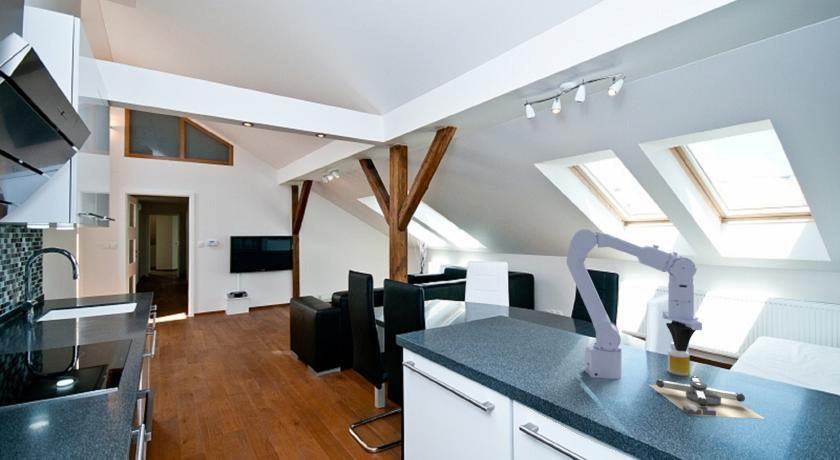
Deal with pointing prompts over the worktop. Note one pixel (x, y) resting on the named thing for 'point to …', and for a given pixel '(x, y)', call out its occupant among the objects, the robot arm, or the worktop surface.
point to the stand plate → (724, 410)
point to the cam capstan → (701, 392)
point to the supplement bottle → (678, 361)
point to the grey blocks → (699, 410)
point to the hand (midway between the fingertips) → (680, 350)
